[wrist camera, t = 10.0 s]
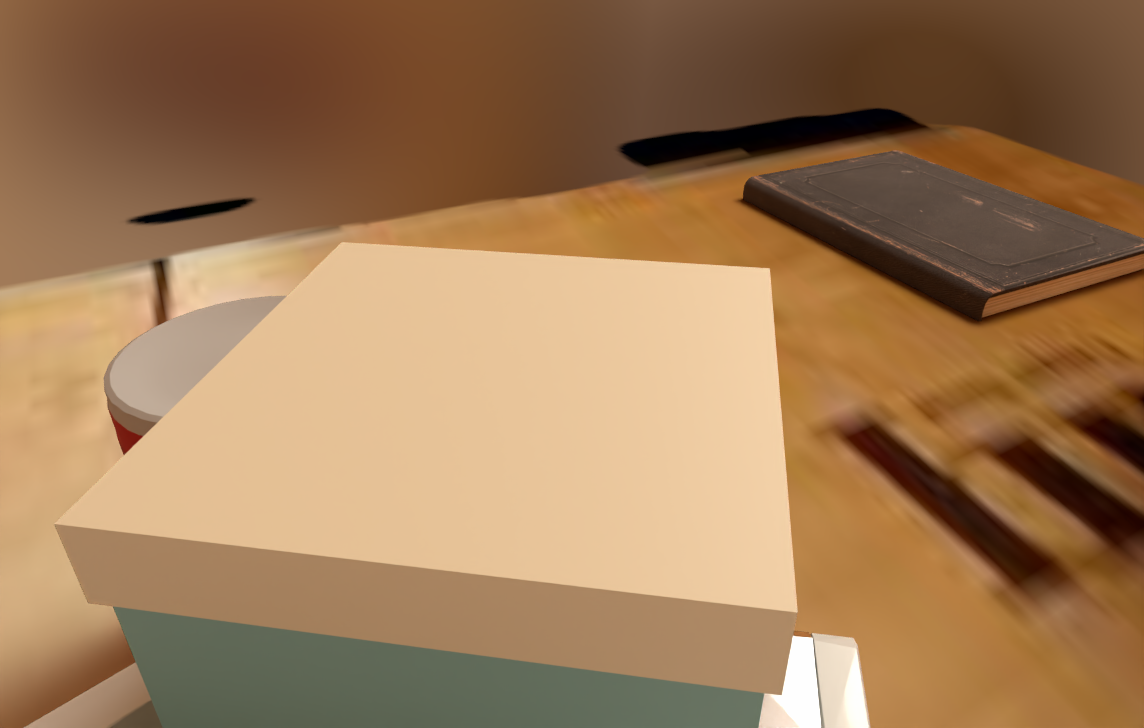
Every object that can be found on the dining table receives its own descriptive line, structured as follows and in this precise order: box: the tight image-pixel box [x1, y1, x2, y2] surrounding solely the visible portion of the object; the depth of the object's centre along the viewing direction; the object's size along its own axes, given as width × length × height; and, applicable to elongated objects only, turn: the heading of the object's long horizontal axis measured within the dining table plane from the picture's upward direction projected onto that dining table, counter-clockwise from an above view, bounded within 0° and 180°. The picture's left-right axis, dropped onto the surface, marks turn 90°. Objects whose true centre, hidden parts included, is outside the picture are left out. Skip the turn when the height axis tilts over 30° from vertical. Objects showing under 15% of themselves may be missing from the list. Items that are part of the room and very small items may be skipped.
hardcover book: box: [743, 150, 1144, 321], centre depth 61 cm, size 16×23×2 cm
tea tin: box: [54, 242, 797, 728], centre depth 10 cm, size 5×5×10 cm
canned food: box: [104, 296, 286, 455], centre depth 28 cm, size 8×8×11 cm
